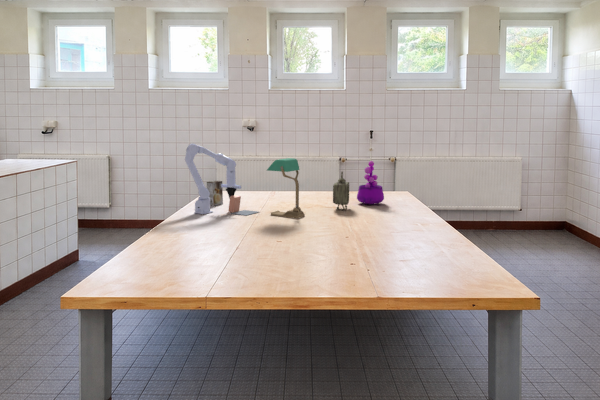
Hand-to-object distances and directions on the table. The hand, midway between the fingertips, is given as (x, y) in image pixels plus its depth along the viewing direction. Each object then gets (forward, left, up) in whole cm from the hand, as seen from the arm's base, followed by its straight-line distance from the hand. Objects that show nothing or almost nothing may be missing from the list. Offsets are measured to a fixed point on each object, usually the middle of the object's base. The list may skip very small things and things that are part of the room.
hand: (231, 199), depth 362 cm
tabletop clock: (+45, -56, -8) cm, 72 cm away
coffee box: (+16, +26, -8) cm, 32 cm away
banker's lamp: (+6, -38, -8) cm, 39 cm away
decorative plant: (+75, -64, -8) cm, 99 cm away
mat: (0, -11, -8) cm, 13 cm away
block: (0, -2, -8) cm, 8 cm away
